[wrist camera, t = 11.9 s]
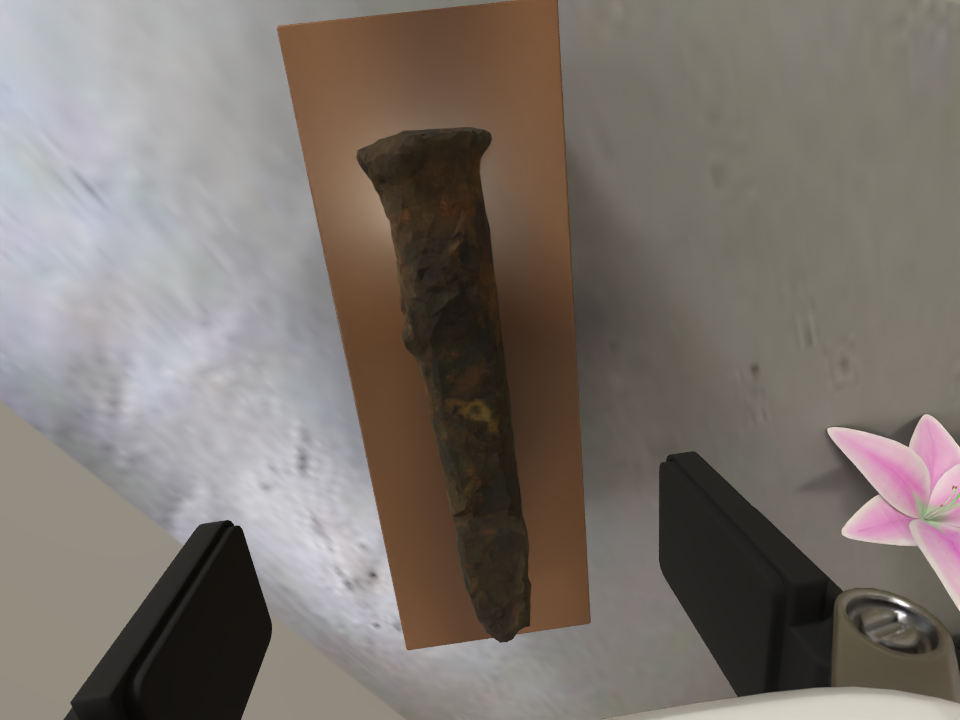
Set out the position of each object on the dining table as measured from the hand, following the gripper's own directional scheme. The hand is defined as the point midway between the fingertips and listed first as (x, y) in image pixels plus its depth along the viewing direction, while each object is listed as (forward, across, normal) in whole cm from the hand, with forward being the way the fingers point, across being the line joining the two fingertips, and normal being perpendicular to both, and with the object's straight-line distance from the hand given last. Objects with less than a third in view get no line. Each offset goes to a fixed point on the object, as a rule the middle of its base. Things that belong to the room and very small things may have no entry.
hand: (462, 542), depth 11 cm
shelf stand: (+18, -1, 0) cm, 18 cm away
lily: (+18, -28, +13) cm, 36 cm away
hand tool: (+9, -1, 0) cm, 9 cm away
